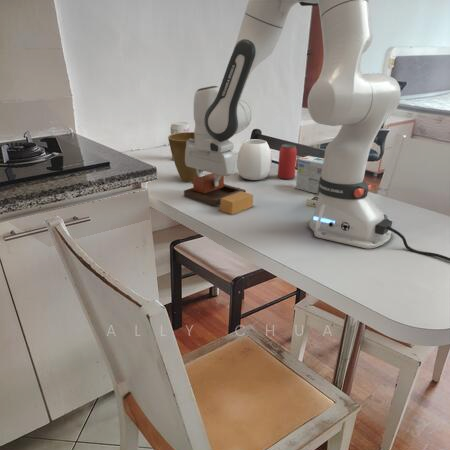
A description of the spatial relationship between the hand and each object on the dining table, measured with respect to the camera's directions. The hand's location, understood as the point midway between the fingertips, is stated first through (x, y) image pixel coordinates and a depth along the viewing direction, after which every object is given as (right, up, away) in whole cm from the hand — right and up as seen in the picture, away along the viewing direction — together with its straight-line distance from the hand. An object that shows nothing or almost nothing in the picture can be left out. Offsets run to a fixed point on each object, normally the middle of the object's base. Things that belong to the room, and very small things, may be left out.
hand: (208, 184), depth 141 cm
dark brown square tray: (+2, -4, +1) cm, 5 cm away
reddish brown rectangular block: (0, -1, +1) cm, 2 cm away
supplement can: (-14, +23, +44) cm, 51 cm away
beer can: (+30, +8, +20) cm, 37 cm away
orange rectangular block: (+9, -11, -10) cm, 17 cm away
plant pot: (-8, +6, +17) cm, 20 cm away
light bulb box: (+37, 0, +7) cm, 38 cm away
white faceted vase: (+17, +8, +20) cm, 27 cm away
